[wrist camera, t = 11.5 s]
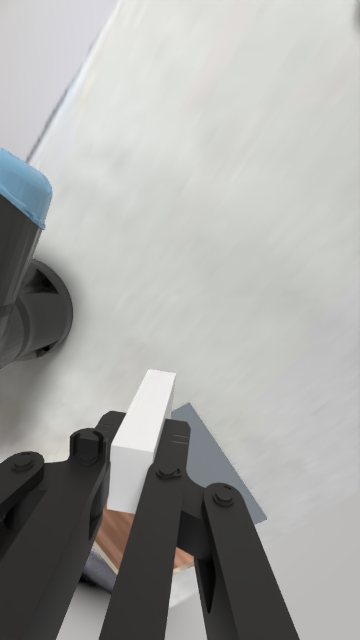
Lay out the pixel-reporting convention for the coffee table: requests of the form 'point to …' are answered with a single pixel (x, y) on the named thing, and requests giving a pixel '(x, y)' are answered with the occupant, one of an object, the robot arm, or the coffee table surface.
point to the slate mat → (212, 461)
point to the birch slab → (115, 539)
